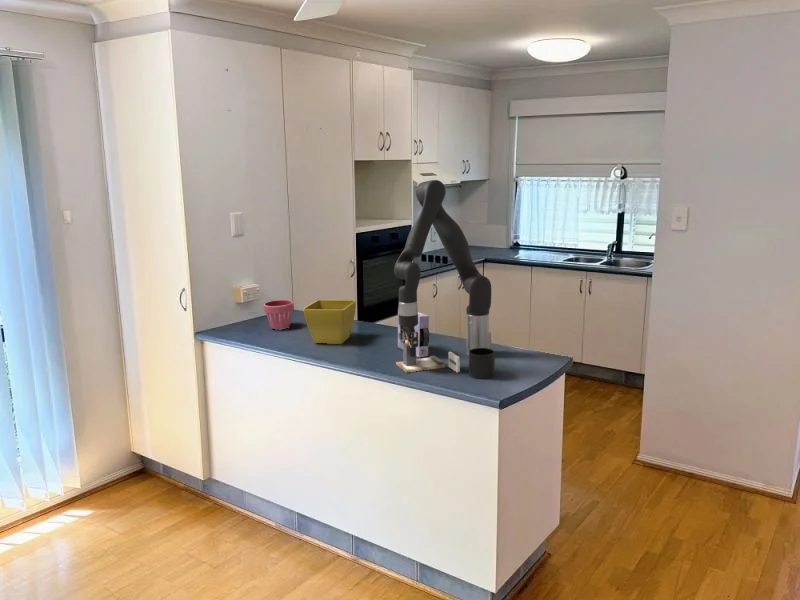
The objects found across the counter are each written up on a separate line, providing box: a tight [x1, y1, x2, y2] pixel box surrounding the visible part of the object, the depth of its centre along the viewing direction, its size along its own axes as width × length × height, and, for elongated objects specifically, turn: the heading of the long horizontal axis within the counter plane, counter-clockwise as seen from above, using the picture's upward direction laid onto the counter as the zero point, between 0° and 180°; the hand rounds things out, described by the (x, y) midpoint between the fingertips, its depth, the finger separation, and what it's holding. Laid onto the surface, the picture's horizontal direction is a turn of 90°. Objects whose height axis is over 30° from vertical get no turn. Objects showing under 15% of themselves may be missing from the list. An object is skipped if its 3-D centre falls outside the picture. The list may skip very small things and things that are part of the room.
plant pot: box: [263, 299, 295, 329], centre depth 318 cm, size 14×14×13 cm
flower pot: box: [302, 299, 357, 345], centre depth 292 cm, size 19×19×17 cm
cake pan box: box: [397, 308, 430, 359], centre depth 271 cm, size 19×5×18 cm, turn 30°
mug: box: [468, 348, 496, 380], centre depth 242 cm, size 9×12×9 cm
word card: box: [448, 351, 461, 374], centre depth 248 cm, size 1×8×6 cm, turn 19°
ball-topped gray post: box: [402, 340, 417, 366], centre depth 253 cm, size 4×4×10 cm
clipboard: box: [395, 355, 446, 374], centre depth 254 cm, size 16×12×2 cm
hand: (409, 353), depth 253 cm, fingers open, 7 cm apart
